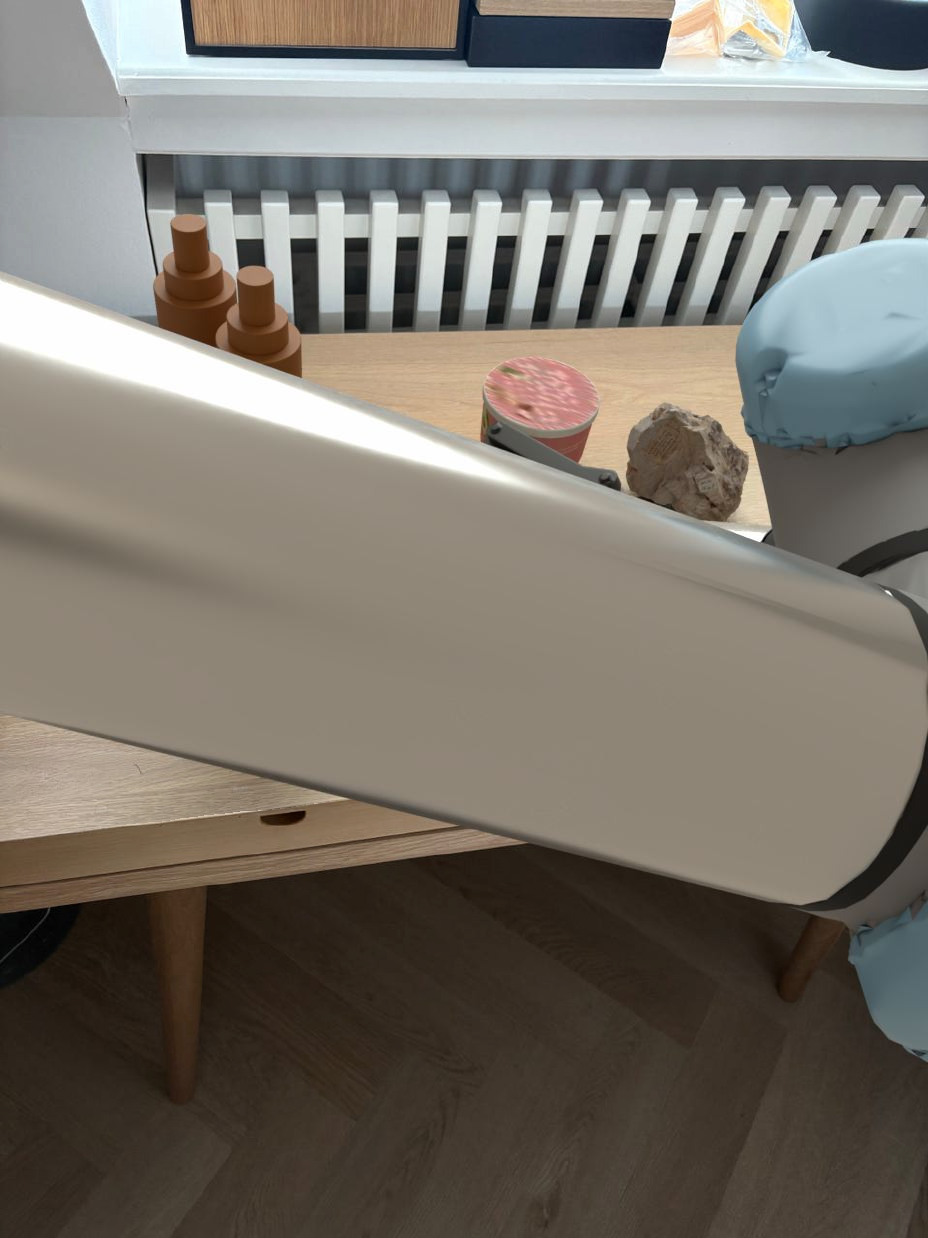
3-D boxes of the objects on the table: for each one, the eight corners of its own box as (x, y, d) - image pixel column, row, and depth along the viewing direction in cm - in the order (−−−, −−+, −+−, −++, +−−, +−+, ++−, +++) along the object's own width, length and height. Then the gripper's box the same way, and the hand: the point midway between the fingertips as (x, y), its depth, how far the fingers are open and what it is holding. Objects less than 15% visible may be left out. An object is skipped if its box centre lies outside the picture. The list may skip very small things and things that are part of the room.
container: (502, 410, 101) (514, 342, 95) (599, 450, 99) (617, 383, 93) (453, 470, 95) (462, 401, 89) (555, 514, 93) (572, 446, 86)
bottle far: (197, 441, 93) (175, 254, 79) (156, 402, 96) (127, 215, 82) (259, 413, 96) (248, 229, 82) (217, 376, 99) (200, 192, 85)
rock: (700, 567, 94) (786, 493, 90) (626, 512, 87) (717, 428, 83) (661, 507, 100) (740, 436, 97) (589, 451, 93) (672, 371, 89)
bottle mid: (256, 496, 89) (244, 311, 75) (211, 454, 92) (191, 268, 78) (318, 465, 93) (318, 282, 78) (273, 425, 95) (265, 242, 81)
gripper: (594, 901, 42) (233, 791, 54) (770, 463, 53) (440, 452, 65) (531, 812, 36) (146, 712, 48) (742, 348, 48) (388, 359, 60)
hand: (314, 563), depth 57 cm, fingers open, 13 cm apart
